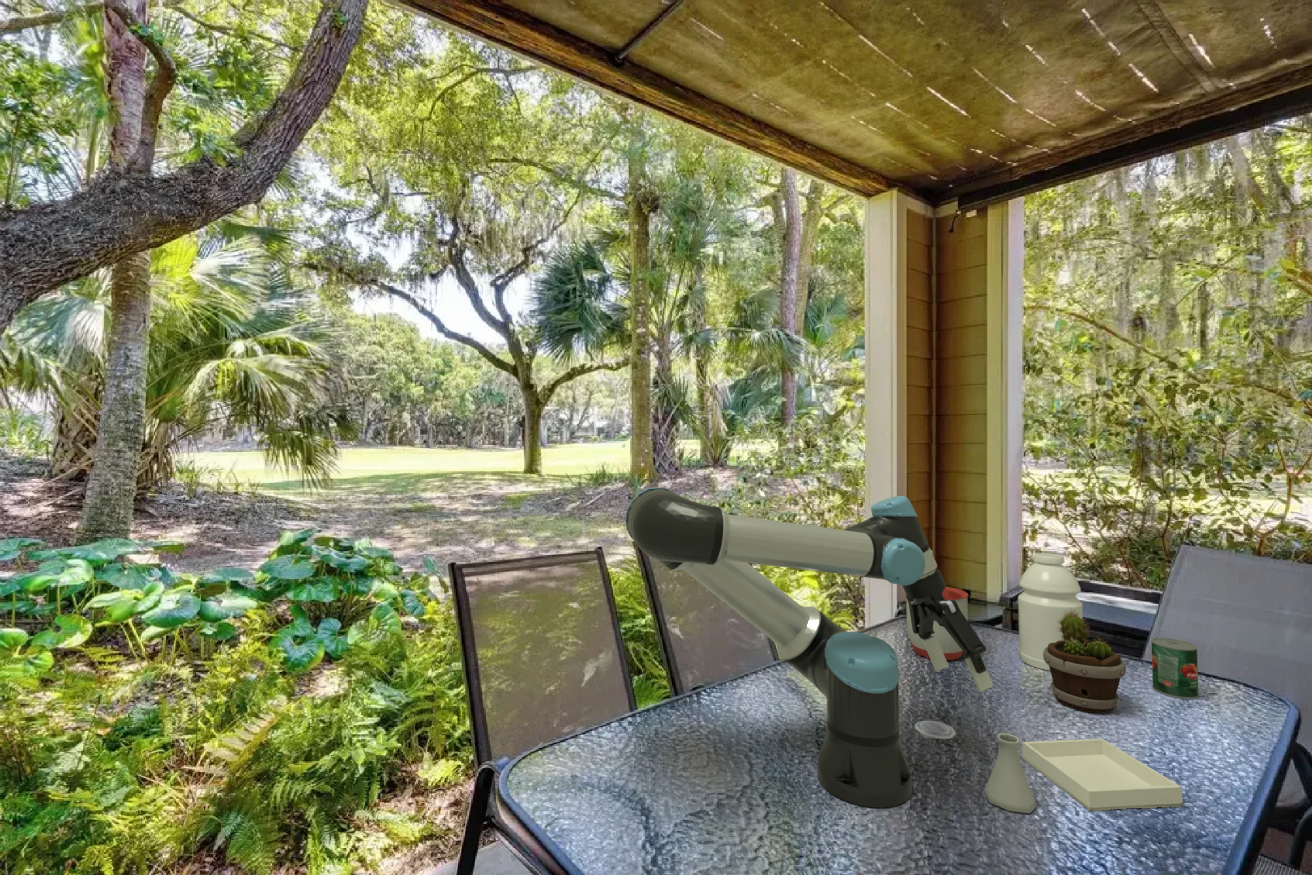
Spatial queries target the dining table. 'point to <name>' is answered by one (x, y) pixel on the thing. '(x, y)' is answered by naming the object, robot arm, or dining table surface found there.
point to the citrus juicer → (941, 628)
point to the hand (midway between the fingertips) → (962, 677)
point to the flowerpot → (1083, 668)
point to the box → (1101, 775)
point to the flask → (1009, 778)
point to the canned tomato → (1175, 668)
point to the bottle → (1045, 606)
